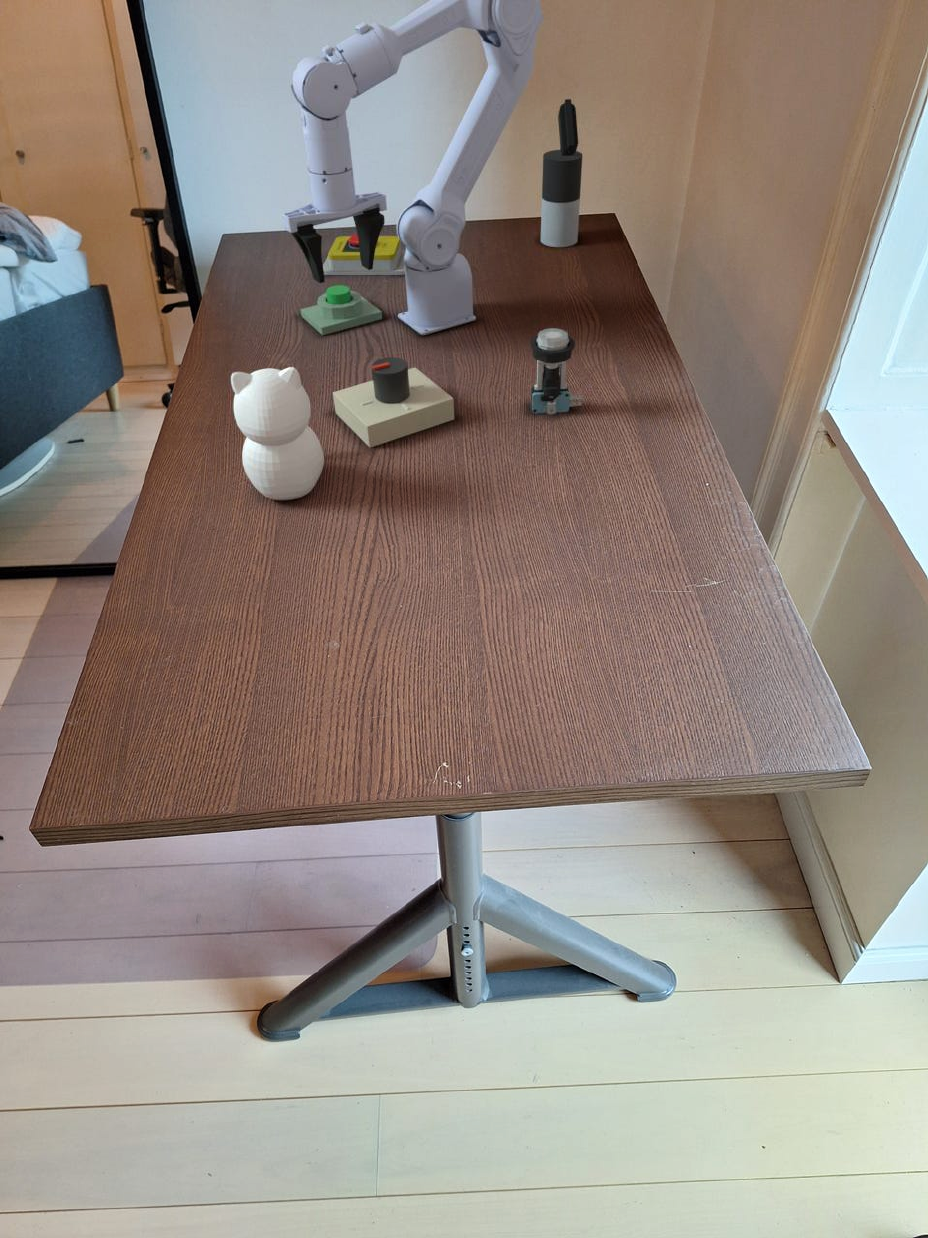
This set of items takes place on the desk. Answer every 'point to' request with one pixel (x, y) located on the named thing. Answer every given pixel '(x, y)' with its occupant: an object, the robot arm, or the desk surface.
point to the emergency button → (348, 260)
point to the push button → (552, 372)
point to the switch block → (340, 314)
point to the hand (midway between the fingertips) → (343, 273)
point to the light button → (338, 294)
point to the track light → (562, 184)
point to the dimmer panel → (393, 410)
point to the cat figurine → (277, 433)
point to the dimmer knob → (390, 380)
